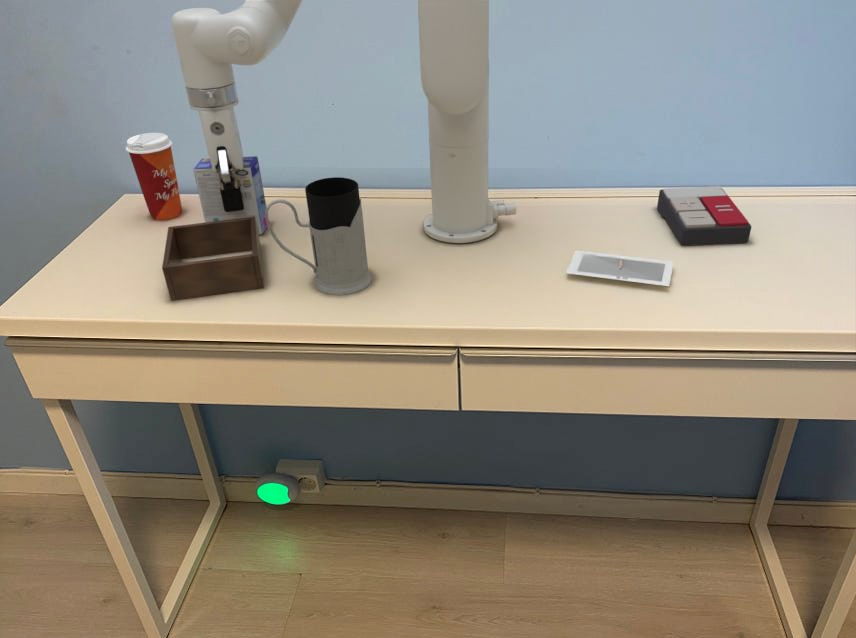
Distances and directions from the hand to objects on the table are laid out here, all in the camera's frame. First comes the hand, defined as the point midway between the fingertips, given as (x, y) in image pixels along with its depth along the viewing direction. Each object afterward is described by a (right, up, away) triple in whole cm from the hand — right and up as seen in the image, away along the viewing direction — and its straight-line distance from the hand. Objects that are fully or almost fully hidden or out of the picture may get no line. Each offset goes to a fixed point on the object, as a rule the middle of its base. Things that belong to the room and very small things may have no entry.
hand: (234, 201), depth 128 cm
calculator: (+79, -4, -1) cm, 79 cm away
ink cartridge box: (0, -4, +3) cm, 5 cm away
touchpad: (+63, -14, -14) cm, 66 cm away
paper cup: (-15, 0, +10) cm, 18 cm away
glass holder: (+18, -15, -14) cm, 27 cm away
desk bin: (0, -13, -10) cm, 17 cm away
